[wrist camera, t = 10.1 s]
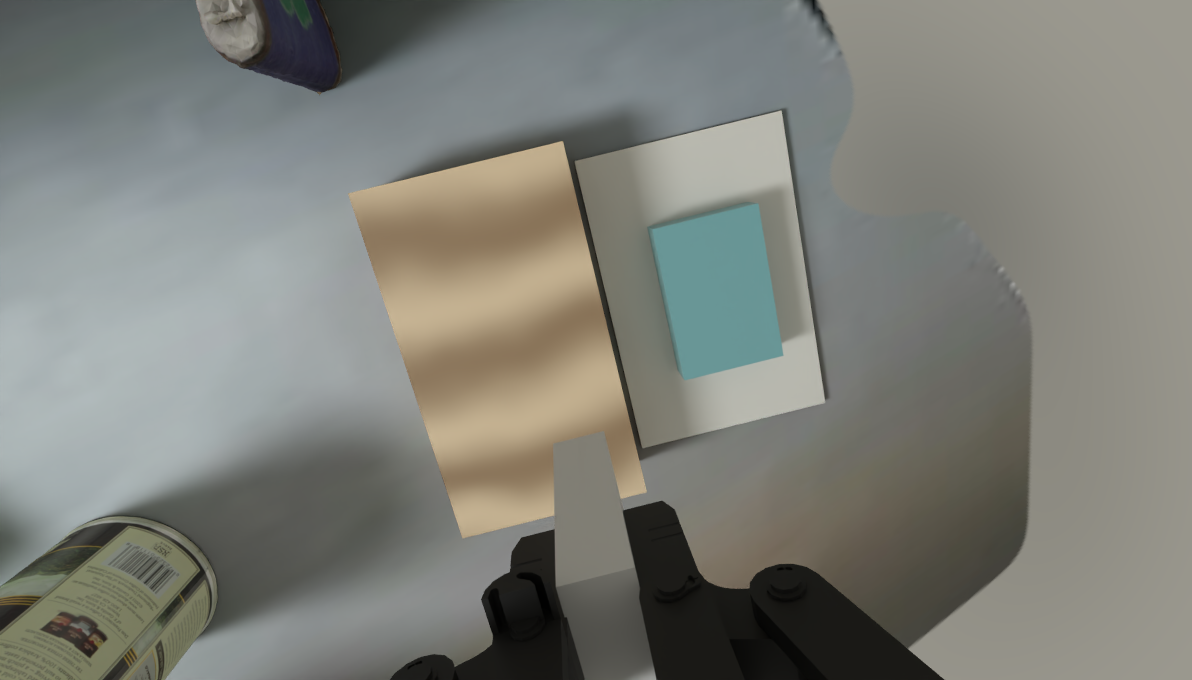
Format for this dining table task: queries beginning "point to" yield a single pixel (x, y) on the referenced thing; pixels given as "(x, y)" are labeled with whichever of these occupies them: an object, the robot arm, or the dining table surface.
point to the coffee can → (106, 604)
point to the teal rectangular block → (716, 290)
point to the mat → (619, 230)
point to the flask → (275, 39)
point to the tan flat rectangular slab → (499, 328)
